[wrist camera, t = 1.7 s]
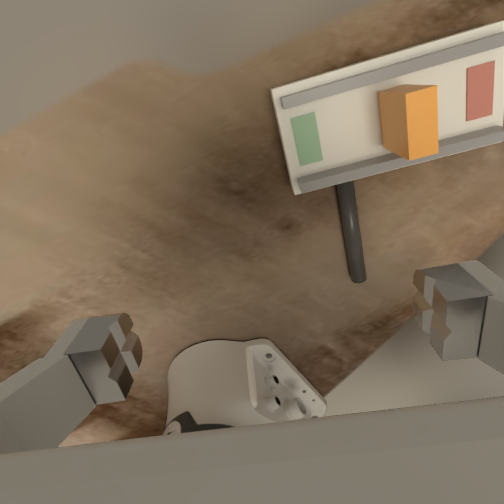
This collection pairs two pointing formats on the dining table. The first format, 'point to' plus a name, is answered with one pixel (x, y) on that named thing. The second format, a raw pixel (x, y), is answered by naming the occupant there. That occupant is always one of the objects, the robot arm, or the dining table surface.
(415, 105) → the toggle
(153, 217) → the dining table surface
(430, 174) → the dining table surface
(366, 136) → the switch box
